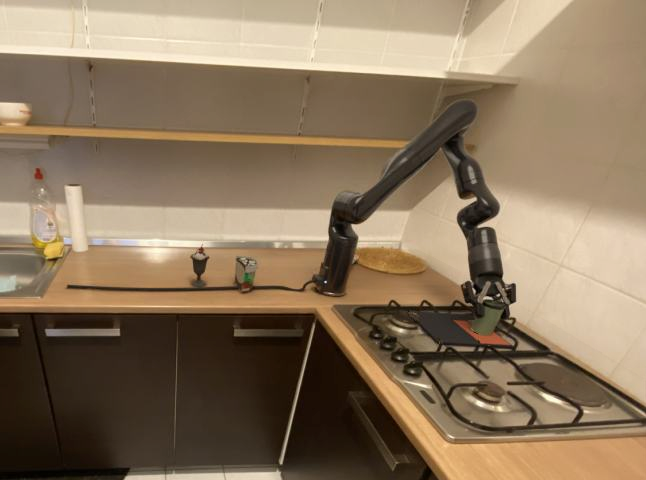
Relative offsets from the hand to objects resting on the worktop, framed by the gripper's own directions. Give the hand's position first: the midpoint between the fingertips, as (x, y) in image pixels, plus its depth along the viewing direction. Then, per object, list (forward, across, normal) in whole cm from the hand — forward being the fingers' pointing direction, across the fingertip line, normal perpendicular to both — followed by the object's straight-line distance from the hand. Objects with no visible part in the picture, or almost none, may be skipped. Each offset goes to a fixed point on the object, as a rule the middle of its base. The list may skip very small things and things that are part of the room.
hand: (492, 317), depth 106 cm
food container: (-15, +66, -24) cm, 72 cm away
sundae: (-16, +83, -25) cm, 88 cm away
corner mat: (+1, +6, -7) cm, 9 cm away
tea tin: (+2, 0, -5) cm, 6 cm away
